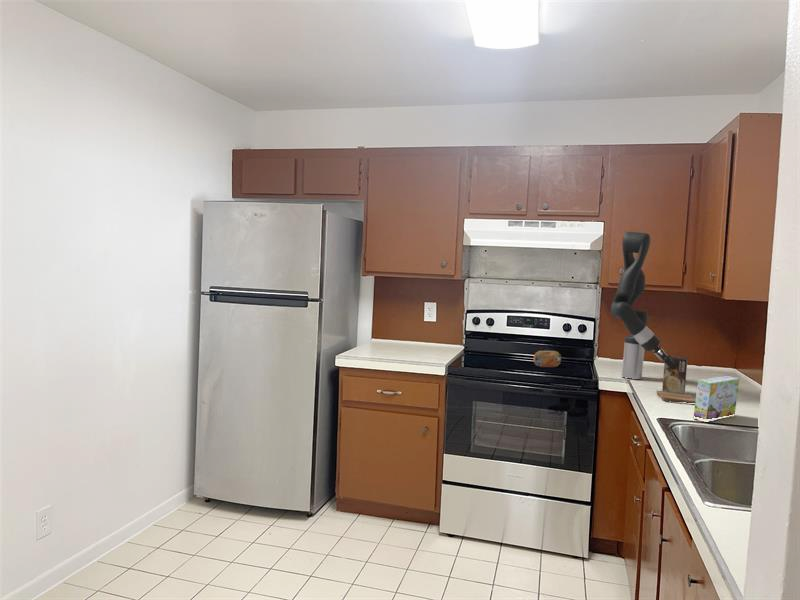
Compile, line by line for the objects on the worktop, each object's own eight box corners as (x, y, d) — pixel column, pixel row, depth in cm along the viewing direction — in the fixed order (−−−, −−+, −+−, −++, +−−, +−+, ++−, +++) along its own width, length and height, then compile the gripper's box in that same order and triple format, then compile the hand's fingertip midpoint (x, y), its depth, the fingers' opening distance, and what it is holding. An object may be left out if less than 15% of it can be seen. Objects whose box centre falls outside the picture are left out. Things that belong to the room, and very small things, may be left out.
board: (656, 393, 259) (656, 390, 259) (688, 397, 256) (688, 393, 256) (663, 401, 245) (663, 398, 245) (697, 405, 243) (697, 401, 243)
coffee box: (685, 393, 263) (688, 357, 261) (684, 396, 257) (687, 359, 255) (662, 389, 267) (665, 354, 265) (661, 392, 262) (664, 356, 260)
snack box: (707, 423, 215) (712, 382, 214) (692, 419, 220) (696, 379, 218) (736, 416, 228) (740, 377, 226) (721, 413, 232) (725, 374, 231)
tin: (534, 367, 306) (536, 351, 305) (531, 366, 309) (533, 349, 308) (561, 367, 310) (562, 351, 309) (558, 366, 313) (559, 350, 312)
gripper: (656, 335, 255) (683, 364, 254) (650, 330, 269) (675, 358, 268) (642, 346, 257) (668, 375, 255) (636, 341, 271) (661, 369, 269)
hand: (672, 366), depth 262 cm, fingers closed on coffee box, 7 cm apart
